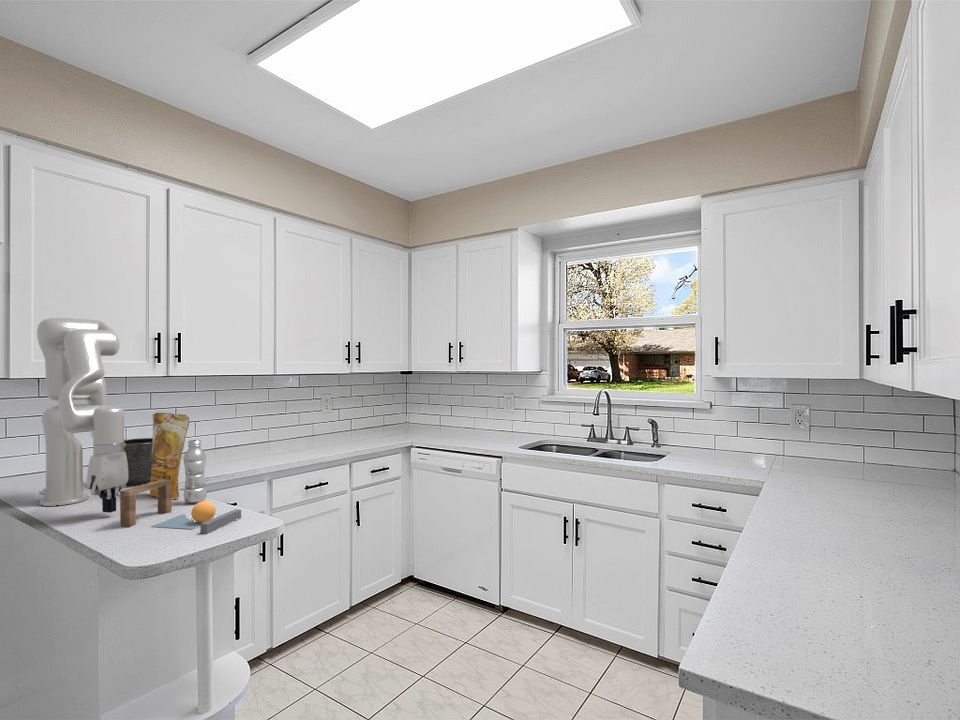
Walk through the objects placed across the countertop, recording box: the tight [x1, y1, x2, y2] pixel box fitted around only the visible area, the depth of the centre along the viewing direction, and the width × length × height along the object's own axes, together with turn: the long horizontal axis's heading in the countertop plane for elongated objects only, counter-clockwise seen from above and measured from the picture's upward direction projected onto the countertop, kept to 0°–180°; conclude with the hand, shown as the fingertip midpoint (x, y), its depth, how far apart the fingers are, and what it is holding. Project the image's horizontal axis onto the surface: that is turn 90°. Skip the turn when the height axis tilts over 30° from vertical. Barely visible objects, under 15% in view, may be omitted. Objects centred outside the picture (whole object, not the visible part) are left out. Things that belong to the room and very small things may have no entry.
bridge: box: [119, 479, 173, 528], centre depth 153 cm, size 3×15×10 cm, turn 169°
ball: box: [190, 500, 216, 523], centre depth 148 cm, size 6×6×6 cm
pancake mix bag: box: [149, 412, 190, 500], centre depth 179 cm, size 7×19×28 cm, turn 57°
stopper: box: [199, 509, 242, 535], centre depth 146 cm, size 2×14×2 cm, turn 169°
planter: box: [124, 437, 153, 487], centre depth 198 cm, size 17×17×16 cm
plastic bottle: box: [182, 439, 208, 504], centre depth 170 cm, size 6×7×20 cm
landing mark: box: [151, 513, 201, 530], centre depth 150 cm, size 13×13×1 cm
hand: (109, 511), depth 155 cm, fingers closed
